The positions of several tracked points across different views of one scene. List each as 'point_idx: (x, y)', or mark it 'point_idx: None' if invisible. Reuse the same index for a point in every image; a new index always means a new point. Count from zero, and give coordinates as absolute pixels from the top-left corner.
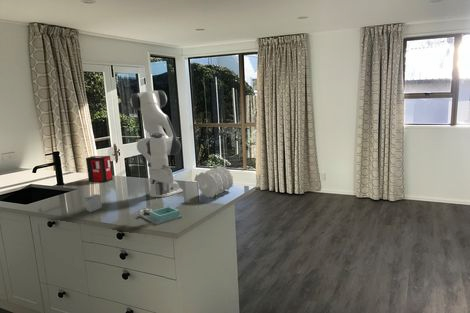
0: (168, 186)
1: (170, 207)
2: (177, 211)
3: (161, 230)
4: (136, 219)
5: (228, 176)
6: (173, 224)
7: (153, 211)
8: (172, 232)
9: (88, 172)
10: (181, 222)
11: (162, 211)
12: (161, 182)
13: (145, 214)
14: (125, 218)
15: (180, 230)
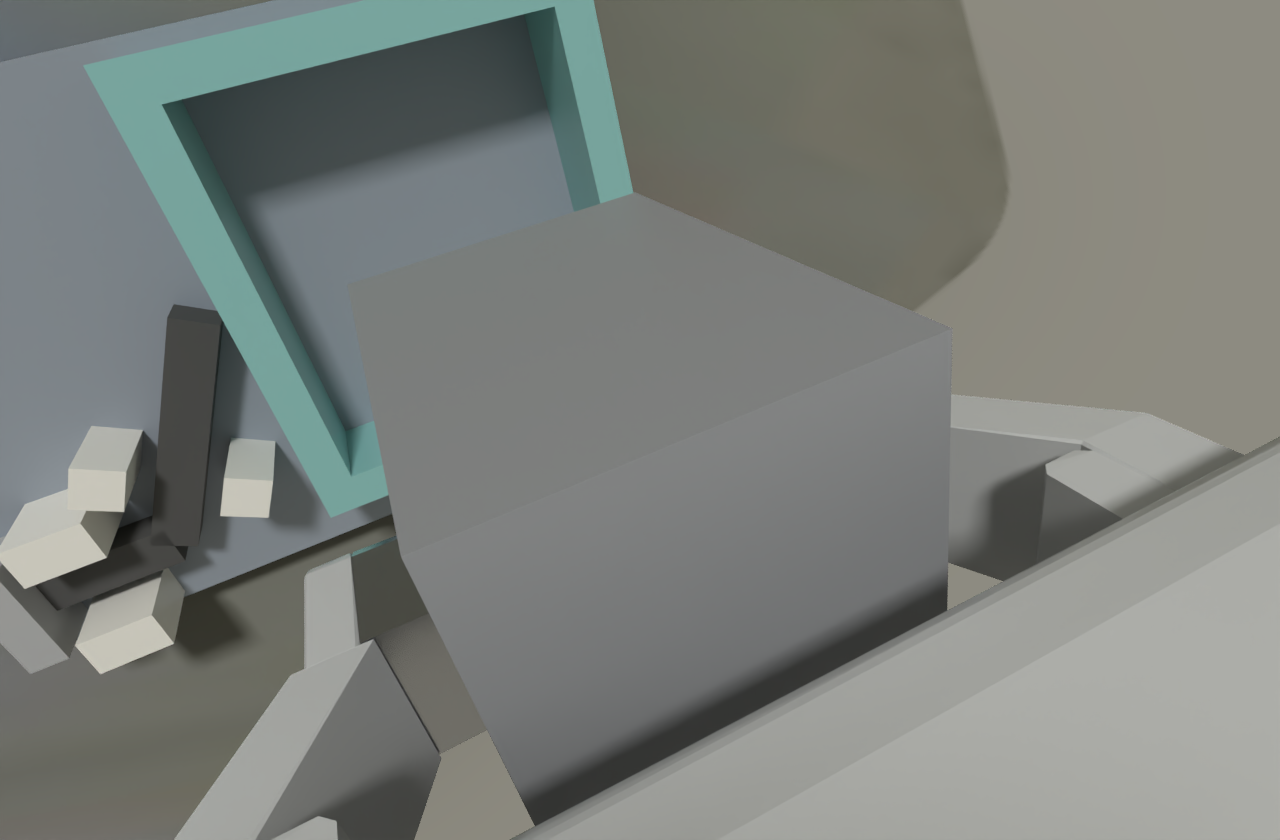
0: (776, 272)
1: (228, 66)
2: (588, 5)
3: None
4: (261, 638)
5: None
6: (775, 180)
7: (342, 455)
8: (975, 258)
9: None
10: (777, 41)
11: (254, 262)
12: (687, 737)
13: (184, 547)
14: (124, 782)
15: (993, 157)
